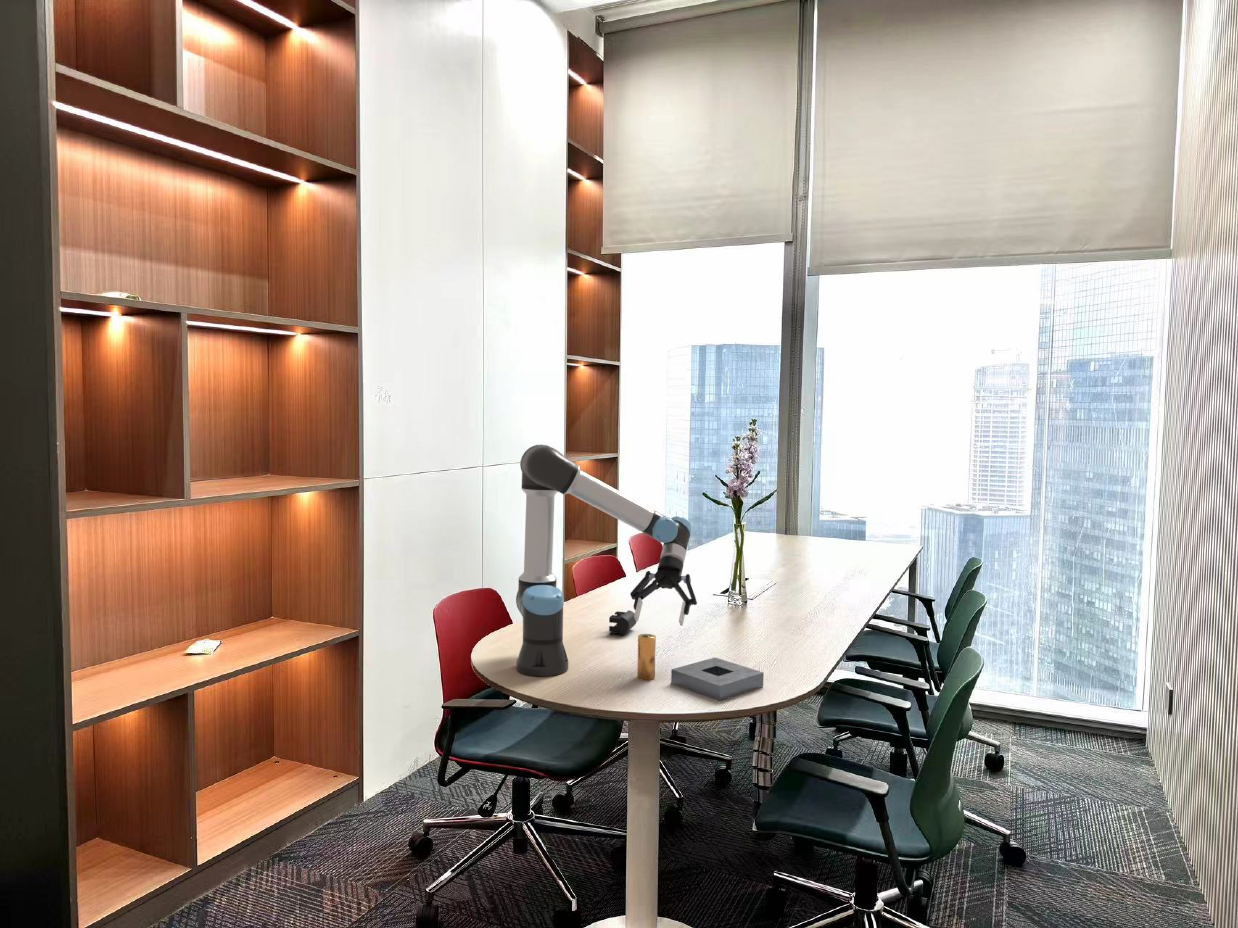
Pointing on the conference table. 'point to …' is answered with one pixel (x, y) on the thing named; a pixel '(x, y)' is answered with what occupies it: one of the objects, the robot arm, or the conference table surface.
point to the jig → (717, 678)
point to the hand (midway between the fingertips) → (658, 621)
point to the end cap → (622, 623)
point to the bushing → (646, 657)
